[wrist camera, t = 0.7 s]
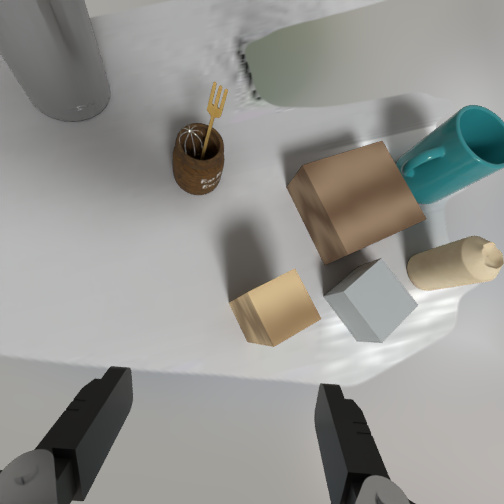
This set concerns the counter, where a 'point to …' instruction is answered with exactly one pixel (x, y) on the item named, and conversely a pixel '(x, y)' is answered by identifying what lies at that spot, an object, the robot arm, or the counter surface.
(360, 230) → the walnut block
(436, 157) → the cup
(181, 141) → the utensil holder
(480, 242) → the candle
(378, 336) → the grey block
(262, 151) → the counter surface
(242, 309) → the oak pillar
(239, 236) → the counter surface
